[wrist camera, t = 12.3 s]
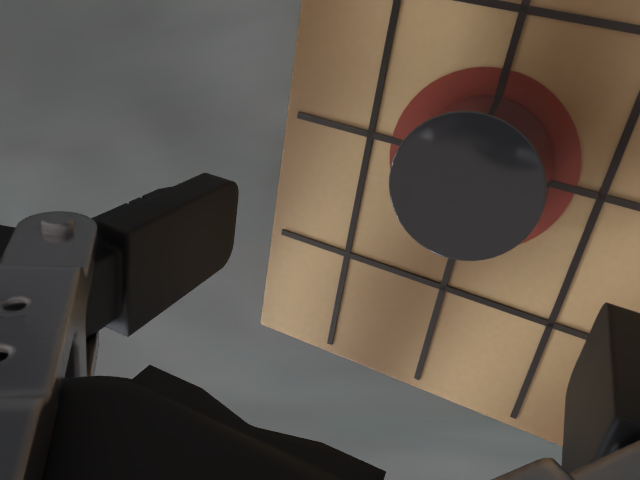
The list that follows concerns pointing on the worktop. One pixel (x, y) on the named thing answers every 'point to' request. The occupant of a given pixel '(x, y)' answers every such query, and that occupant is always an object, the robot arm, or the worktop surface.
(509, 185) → the dark grey short cylinder
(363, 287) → the grid board
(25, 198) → the worktop surface
